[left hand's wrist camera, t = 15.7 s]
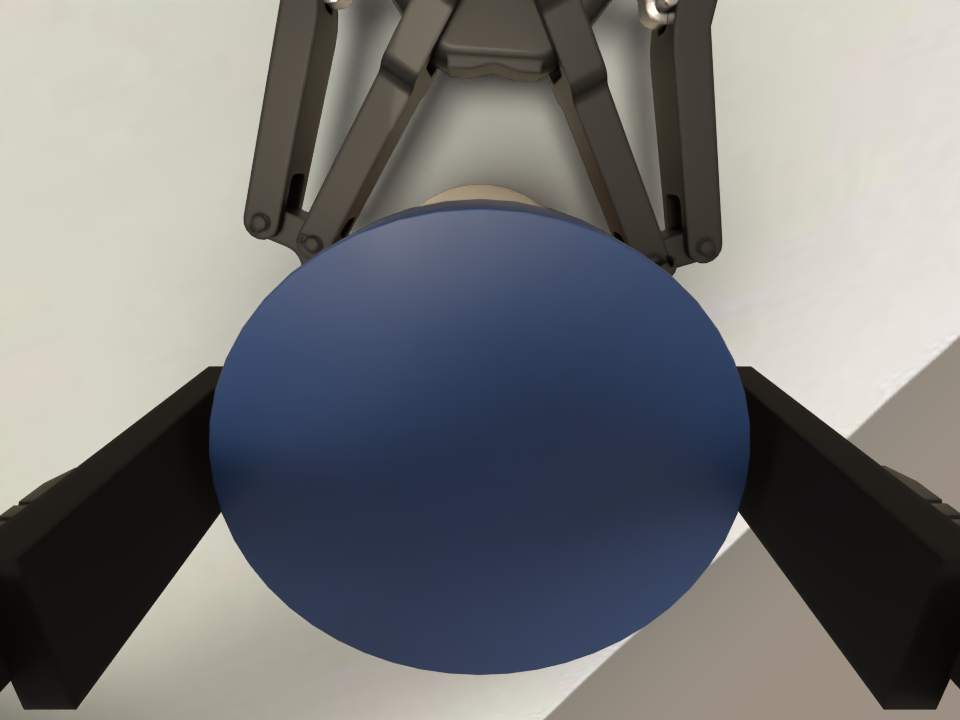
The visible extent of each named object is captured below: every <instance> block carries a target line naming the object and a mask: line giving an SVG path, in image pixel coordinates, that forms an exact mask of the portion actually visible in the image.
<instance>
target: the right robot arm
mask: <svg viewBox="0 0 960 720" xmlns="http://www.w3.org/2000/svg"><path fill="white" fill-rule="evenodd" d="M352 1H353V0H280V5H279V11H278V17H277V23H276V29H275V34H274V40H273V46H272V52H271V58H270V64H269V70H268V76H267V82H266V88H265V94H264V100H263V105H262V111H261V117H260V123H259V129H258V135H257V141H256V147H255V153H254V159H253V165H252V171H251V176H250V182H249V188H248V194H247V200H246V206H245V212H244V225H245V228H246V230H247V231H248V232H249V233H250V234H251V236H253V237H255V238H257V239H262V240H265V239H269V240H272V241H274V242H277V243H279V244H282V245H284V246H286V247H288V248H290V249H292V250H293V251H294V252H295V253H296V254H297V256H298V257H299V259H300V261H301V265H303V264H304V263H306V262H307V261H308V260H310V259H311V258H313V257H314V256H315V255H317V254H318V253H320V252H321V251H322V250H324V249H326V248H328V247H329V246H331V245H333V244H334V243H336V242H338V241H340V240H341V239H343V238H345V237H346V236H348V235H349V233H350V231H351V229H352V227H353V225H354V223H355V221H356V220H357V218H358V216H359V214H360V212H361V210H362V208H363V206H364V205H365V203H366V201H367V199H368V197H369V195H370V193H371V191H372V190H373V188H374V186H375V184H376V182H377V180H378V178H379V176H380V175H381V173H382V171H383V169H384V167H385V165H386V163H387V161H388V160H389V158H390V156H391V154H392V152H393V150H394V148H395V146H396V145H397V143H398V141H399V139H400V137H401V135H402V133H403V131H404V130H405V128H406V126H407V124H408V122H409V120H410V118H411V116H412V115H413V113H414V111H415V109H416V107H417V105H418V103H419V102H420V100H421V99H422V97H423V96H424V95H425V93H426V92H427V90H428V88H429V87H430V85H431V83H432V81H433V79H434V77H435V76H436V74H437V72H438V70H439V69H440V70H442V71H444V72H446V73H448V74H449V75H450V77H459V78H474V77H478V76H482V75H487V74H491V73H495V74H497V75H500V76H503V77H506V78H508V79H511V80H514V81H525V82H536V81H537V79H540V78H543V77H546V76H547V78H548V80H549V83H550V85H551V88H552V90H553V93H554V95H555V97H556V100H557V102H558V103H559V105H560V106H561V108H562V110H563V112H564V114H565V117H566V119H567V122H568V125H569V127H570V130H571V132H572V135H573V137H574V140H575V142H576V145H577V147H578V150H579V152H580V155H581V158H582V160H583V163H584V165H585V168H586V170H587V173H588V175H589V178H590V180H591V183H592V185H593V188H594V191H595V193H596V196H597V198H598V201H599V203H600V206H601V208H602V211H603V213H604V216H605V218H606V221H607V224H608V226H609V229H610V231H611V234H612V236H613V237H615V238H616V239H618V240H620V241H621V242H623V243H625V244H627V245H628V246H630V247H632V248H633V249H635V250H637V251H639V252H640V253H641V254H643V255H644V256H645V257H647V258H648V259H650V260H651V261H652V262H654V263H655V264H656V265H658V266H659V267H660V268H662V269H663V270H665V271H666V272H667V273H669V274H670V275H671V276H673V274H674V273H675V271H676V268H678V267H681V266H684V265H688V264H691V263H695V262H698V263H708V262H710V261H713V260H714V259H715V258H716V257H717V256H718V255H719V253H720V251H721V249H722V228H721V209H720V190H719V172H718V153H717V134H716V115H715V96H714V77H713V59H712V40H711V24H712V20H713V16H714V12H715V8H716V4H717V0H637V1H638V16H639V19H640V21H641V23H642V24H643V25H644V26H645V27H646V28H648V29H651V30H652V34H651V45H650V64H651V76H652V87H653V98H654V109H655V120H656V131H657V142H658V153H659V164H660V175H661V186H662V197H663V208H664V219H665V230H663V231H660V229H659V226H658V223H657V220H656V218H655V215H654V212H653V209H652V207H651V204H650V201H649V198H648V195H647V193H646V190H645V187H644V184H643V182H642V179H641V176H640V173H639V170H638V168H637V165H636V162H635V159H634V157H633V154H632V151H631V148H630V146H629V143H628V140H627V137H626V134H625V132H624V129H623V126H622V123H621V121H620V118H619V115H618V112H617V109H616V107H615V104H614V101H613V98H612V96H611V93H610V90H609V87H608V83H607V71H606V67H605V64H604V61H603V58H602V55H601V53H600V50H599V47H598V44H597V41H596V39H595V36H594V33H593V30H592V26H593V24H594V23H595V22H596V20H597V19H598V18H599V16H600V15H601V14H602V13H603V11H604V10H605V9H606V7H607V6H608V5H609V3H610V2H611V1H612V0H392V1H393V2H394V4H395V6H396V7H397V9H398V11H399V12H400V14H401V16H402V18H401V20H400V22H399V24H398V26H397V28H396V30H395V32H394V34H393V36H392V38H391V40H390V42H389V44H388V46H387V48H386V50H385V52H384V55H383V57H382V60H381V65H380V70H379V72H378V74H377V77H376V79H375V81H374V83H373V85H372V87H371V89H370V91H369V93H368V95H367V97H366V99H365V101H364V103H363V105H362V107H361V109H360V111H359V113H358V115H357V117H356V119H355V121H354V123H353V125H352V127H351V129H350V131H349V133H348V135H347V137H346V139H345V141H344V143H343V145H342V147H341V149H340V151H339V153H338V155H337V157H336V159H335V161H334V163H333V165H332V167H331V169H330V171H329V173H328V175H327V177H326V179H325V181H324V183H323V185H322V187H321V189H320V191H319V193H318V195H317V197H316V199H315V201H314V203H313V205H312V207H311V209H310V211H309V212H306V211H304V210H302V205H303V200H304V196H305V191H306V186H307V181H308V176H309V171H310V167H311V162H312V157H313V152H314V147H315V142H316V138H317V133H318V128H319V123H320V118H321V113H322V109H323V104H324V99H325V94H326V89H327V84H328V80H329V75H330V70H331V65H332V60H333V55H334V51H335V45H336V39H337V32H338V10H340V9H344V8H346V7H348V6H349V5H350V4H351V2H352Z"/></svg>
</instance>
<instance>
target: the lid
mask: <svg viewBox="0 0 960 720" xmlns="http://www.w3.org/2000/svg"><path fill="white" fill-rule="evenodd" d="M209 456H210V464H211V471H212V478H213V485H214V488H215V491H216V495H217V498H218V502H219V505H220V509H221V512H222V514H223V517H224V519H225V521H226V523H227V525H228V528H229V530H230V532H231V534H232V537H233V539H234V541H235V542H236V544H237V545H238V547H239V549H240V550H241V552H242V553H243V555H244V557H245V558H246V560H247V561H248V563H249V564H250V566H251V567H252V568H253V569H254V571H255V572H256V573H257V574H258V575H259V577H260V578H261V579H262V580H263V582H264V583H265V584H266V585H267V586H268V588H269V589H271V590H272V591H273V592H274V593H275V594H276V595H277V596H278V597H279V598H280V599H281V600H282V601H283V602H284V603H285V604H286V605H287V606H288V607H289V608H291V609H292V610H293V611H295V612H296V613H297V614H299V615H300V616H301V617H303V618H304V619H305V620H306V621H308V622H309V623H310V624H312V625H313V626H315V627H317V628H318V629H320V630H322V631H323V632H325V633H327V634H328V635H330V636H332V637H333V638H335V639H337V640H338V641H341V642H343V643H345V644H347V645H349V646H351V647H353V648H356V649H358V650H360V651H362V652H364V653H367V654H370V655H373V656H376V657H378V658H381V659H384V660H387V661H390V662H393V663H397V664H401V665H405V666H409V667H414V668H418V669H423V670H430V671H437V672H443V673H452V674H472V675H486V674H509V673H516V672H523V671H530V670H537V669H542V668H546V667H550V666H554V665H558V664H563V663H567V662H569V661H572V660H575V659H578V658H581V657H584V656H587V655H590V654H593V653H595V652H597V651H600V650H602V649H604V648H606V647H608V646H610V645H613V644H615V643H617V642H619V641H621V640H623V639H625V638H626V637H628V636H630V635H631V634H633V633H635V632H636V631H638V630H640V629H641V628H643V627H645V626H646V625H648V624H649V623H650V622H652V621H653V620H654V619H656V618H657V617H658V616H660V615H661V614H662V613H664V612H665V611H666V610H668V609H669V608H670V607H671V606H672V605H673V604H674V603H675V602H676V601H677V600H678V599H680V598H681V597H682V596H683V595H684V594H685V593H686V592H687V591H688V590H689V589H690V588H691V587H692V586H693V584H694V583H695V582H696V581H697V580H698V578H699V577H700V576H701V575H702V574H703V572H704V571H705V570H706V569H707V568H708V566H709V565H710V563H711V562H712V560H713V559H714V557H715V556H716V554H717V552H718V551H719V549H720V548H721V546H722V545H723V543H724V541H725V539H726V537H727V535H728V533H729V531H730V529H731V526H732V524H733V522H734V520H735V518H736V516H737V513H738V510H739V506H740V503H741V500H742V496H743V493H744V490H745V486H746V481H747V474H748V467H749V460H750V421H749V415H748V409H747V403H746V397H745V392H744V389H743V386H742V383H741V380H740V377H739V374H738V371H737V368H736V365H735V362H734V359H733V357H732V355H731V354H730V352H729V350H728V348H727V346H726V344H725V342H724V340H723V338H722V336H721V334H720V332H719V331H718V329H717V328H716V326H715V325H714V324H713V322H712V321H711V319H710V318H709V317H708V315H707V314H706V313H705V311H704V310H703V309H702V307H701V306H700V305H699V303H698V302H697V301H696V300H695V299H694V298H693V297H692V296H691V295H690V294H689V293H688V292H687V291H686V290H685V289H684V288H683V287H682V286H681V285H680V284H679V283H678V282H677V281H676V280H675V279H674V278H673V277H672V276H671V275H670V274H669V273H667V272H666V271H665V270H663V269H662V268H660V267H659V266H658V265H656V264H655V263H654V262H652V261H651V260H650V259H648V258H647V257H645V256H644V255H643V254H641V253H640V252H639V251H637V250H635V249H633V248H632V247H630V246H628V245H627V244H625V243H623V242H621V241H620V240H618V239H616V238H615V237H613V236H611V235H609V234H607V233H605V232H603V231H602V230H600V229H598V228H596V227H594V226H592V225H590V224H588V223H587V222H585V221H583V220H580V219H577V218H575V217H572V216H569V215H566V214H564V213H561V212H558V211H555V210H553V209H550V208H545V207H540V206H535V205H531V204H526V203H521V202H517V201H504V200H491V199H470V200H454V201H443V202H438V203H434V204H429V205H424V206H419V207H414V208H410V209H407V210H404V211H402V212H399V213H396V214H393V215H390V216H387V217H385V218H382V219H379V220H377V221H375V222H373V223H371V224H369V225H367V226H365V227H363V228H362V229H360V230H358V231H356V232H354V233H352V234H350V235H348V236H346V237H345V238H343V239H341V240H340V241H338V242H336V243H334V244H333V245H331V246H329V247H328V248H326V249H324V250H322V251H321V252H320V253H318V254H317V255H315V256H314V257H313V258H311V259H310V260H308V261H307V262H306V263H304V264H303V265H302V266H300V267H299V268H297V269H296V270H295V271H293V272H292V273H290V274H289V275H288V276H287V277H286V278H285V279H284V280H283V281H282V282H281V283H280V284H279V285H278V286H277V287H276V288H275V289H274V290H273V291H272V292H271V293H270V294H269V295H268V296H267V297H266V298H265V299H264V300H263V301H262V303H261V304H260V305H259V307H258V308H257V309H256V311H255V312H254V313H253V315H252V316H251V317H250V319H249V320H248V321H247V323H246V324H245V325H244V327H243V328H242V330H241V332H240V333H239V335H238V337H237V339H236V341H235V343H234V345H233V347H232V348H231V350H230V352H229V354H228V356H227V358H226V360H225V363H224V366H223V369H222V372H221V375H220V378H219V381H218V384H217V386H216V389H215V395H214V400H213V406H212V412H211V417H210V432H209Z"/></svg>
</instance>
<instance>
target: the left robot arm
mask: <svg viewBox="0 0 960 720" xmlns="http://www.w3.org/2000/svg"><path fill="white" fill-rule="evenodd" d="M736 368H737V371H738V374H739V377H740V380H741V383H742V386H743V389H744V392H745V397H746V403H747V409H748V415H749V421H750V460H749V467H748V474H747V481H746V486H745V490H744V493H743V496H742V500H741V503H740V506H739V510H738V511H739V513H740V514H741V516H742V517H743V518H744V520H745V521H746V522H747V524H748V525H749V526H750V528H751V529H752V531H753V532H754V533H755V534H756V536H757V537H758V539H759V540H760V541H761V543H762V544H763V545H764V547H765V548H766V550H767V551H768V552H769V554H770V555H771V556H772V558H773V559H774V561H775V562H776V563H777V565H778V566H779V567H780V569H781V570H782V571H783V573H784V574H785V575H786V577H787V578H788V580H789V581H790V582H791V584H792V585H793V586H794V588H795V589H796V591H797V592H798V593H799V595H800V596H801V597H802V599H803V600H804V601H805V603H806V604H807V605H808V607H809V608H810V610H811V611H812V612H813V614H814V615H815V616H816V618H817V619H818V620H819V622H820V623H821V625H822V626H823V627H824V629H825V630H826V631H827V633H828V634H829V636H830V637H831V638H832V640H833V641H834V642H835V644H836V645H837V646H838V648H839V649H840V650H841V652H842V653H843V655H844V656H845V657H846V659H847V660H848V661H849V663H850V664H851V665H852V667H853V668H854V670H855V671H856V672H857V674H858V675H859V676H860V678H861V679H862V680H863V682H864V683H865V685H866V686H867V687H868V689H869V690H870V691H871V693H872V694H873V695H874V697H875V698H876V700H877V701H878V702H879V704H880V705H881V706H882V708H883V709H884V710H890V709H892V710H900V709H901V710H903V709H904V710H907V709H908V710H910V709H911V710H914V709H916V710H919V709H920V710H922V709H923V710H925V709H927V710H934V709H936V708H937V706H938V704H939V702H940V700H941V698H942V695H943V693H944V691H945V689H946V687H947V684H948V682H949V680H950V679H951V680H952V681H953V682H954V683H955V684H956V685H957V686H958V688H959V689H960V513H959V512H958V511H956V510H955V509H954V508H952V507H951V506H950V505H948V504H943V503H942V500H941V499H940V498H939V497H937V496H936V495H935V494H933V493H932V492H931V491H929V490H928V489H927V488H925V487H924V486H922V485H921V484H920V483H918V482H917V481H915V480H913V479H911V478H909V477H907V476H905V475H903V474H901V473H899V472H897V471H894V470H893V469H890V468H888V467H886V466H881V465H879V464H878V463H877V462H875V461H874V460H873V459H871V458H870V457H869V456H868V455H866V454H865V453H864V452H862V451H861V450H860V449H858V448H857V447H856V446H854V445H853V444H852V443H851V442H849V441H848V440H847V439H845V438H844V437H843V436H841V435H840V434H839V433H837V432H836V431H835V430H834V429H832V428H831V427H830V426H828V425H827V424H826V423H824V422H823V421H822V420H820V419H819V418H818V417H817V416H815V415H814V414H813V413H811V412H810V411H809V410H807V409H806V408H805V407H803V406H802V405H801V404H800V403H798V402H797V401H796V400H794V399H793V398H792V397H790V396H789V395H788V394H786V393H785V392H784V391H783V390H781V389H780V388H779V387H777V386H776V385H775V384H773V383H772V382H771V381H769V380H768V379H767V378H766V377H764V376H763V375H762V374H760V373H759V372H758V371H756V370H755V369H754V368H752V367H751V366H736ZM222 369H223V366H209V367H208V368H206V369H205V370H204V371H202V372H201V373H200V374H198V375H197V376H196V377H194V378H193V379H192V380H191V381H189V382H188V383H187V384H185V385H184V386H183V387H181V388H180V389H179V390H177V391H176V392H175V393H174V394H172V395H171V396H170V397H168V398H167V399H166V400H164V401H163V402H162V403H160V404H159V405H158V406H157V407H155V408H154V409H153V410H151V411H150V412H149V413H147V414H146V415H145V416H143V417H142V418H141V419H140V420H138V421H137V422H136V423H134V424H133V425H132V426H130V427H129V428H128V429H126V430H125V431H124V432H123V433H121V434H120V435H119V436H117V437H116V438H115V439H113V440H112V441H111V442H109V443H108V444H107V445H106V446H104V447H103V448H102V449H100V450H99V451H98V452H96V453H95V454H94V455H92V456H91V457H90V458H89V459H87V460H86V461H85V462H83V463H82V464H81V465H79V466H78V467H77V468H74V469H72V470H70V471H68V472H66V473H64V474H62V475H60V476H58V477H56V478H54V479H52V480H49V481H47V482H45V483H44V484H42V485H41V486H39V487H38V488H37V489H35V490H34V491H33V492H31V493H30V494H29V495H27V496H26V497H25V498H23V499H22V500H21V501H19V505H18V506H13V507H11V508H10V509H9V510H7V511H6V512H4V513H3V514H2V515H0V692H1V691H2V690H3V689H4V687H5V686H6V685H7V684H8V683H9V682H10V681H11V682H12V684H13V687H14V689H15V691H16V693H17V695H18V698H19V700H20V702H21V704H22V706H23V708H24V710H76V709H77V708H78V706H79V705H80V704H81V702H82V701H83V700H84V698H85V697H86V695H87V694H88V693H89V691H90V690H91V689H92V687H93V686H94V685H95V683H96V682H97V680H98V679H99V678H100V676H101V675H102V674H103V672H104V671H105V670H106V668H107V667H108V665H109V664H110V663H111V661H112V660H113V659H114V657H115V656H116V655H117V653H118V652H119V650H120V649H121V648H122V646H123V645H124V644H125V642H126V641H127V640H128V638H129V637H130V636H131V634H132V633H133V631H134V630H135V629H136V627H137V626H138V625H139V623H140V622H141V621H142V619H143V618H144V616H145V615H146V614H147V612H148V611H149V610H150V608H151V607H152V606H153V604H154V603H155V601H156V600H157V599H158V597H159V596H160V595H161V593H162V592H163V591H164V589H165V588H166V586H167V585H168V584H169V582H170V581H171V580H172V578H173V577H174V576H175V574H176V573H177V571H178V570H179V569H180V567H181V566H182V565H183V563H184V562H185V561H186V559H187V558H188V556H189V555H190V554H191V552H192V551H193V550H194V548H195V547H196V546H197V544H198V543H199V541H200V540H201V539H202V537H203V536H204V535H205V533H206V532H207V531H208V529H209V528H210V526H211V525H212V524H213V522H214V521H215V520H216V518H217V517H218V516H219V514H220V513H221V509H220V505H219V502H218V498H217V495H216V491H215V488H214V485H213V478H212V471H211V464H210V456H209V432H210V417H211V412H212V406H213V400H214V395H215V389H216V386H217V384H218V381H219V378H220V375H221V372H222Z"/></svg>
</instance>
